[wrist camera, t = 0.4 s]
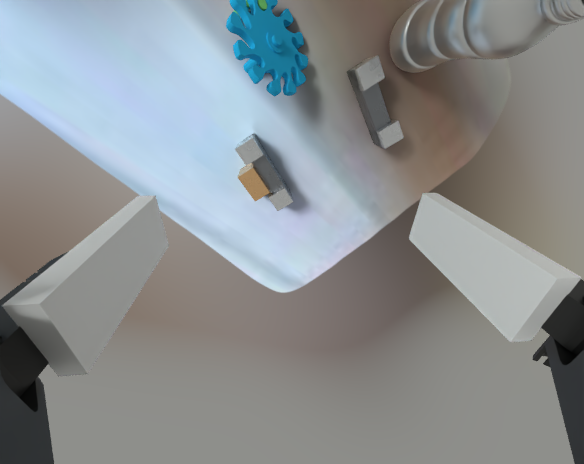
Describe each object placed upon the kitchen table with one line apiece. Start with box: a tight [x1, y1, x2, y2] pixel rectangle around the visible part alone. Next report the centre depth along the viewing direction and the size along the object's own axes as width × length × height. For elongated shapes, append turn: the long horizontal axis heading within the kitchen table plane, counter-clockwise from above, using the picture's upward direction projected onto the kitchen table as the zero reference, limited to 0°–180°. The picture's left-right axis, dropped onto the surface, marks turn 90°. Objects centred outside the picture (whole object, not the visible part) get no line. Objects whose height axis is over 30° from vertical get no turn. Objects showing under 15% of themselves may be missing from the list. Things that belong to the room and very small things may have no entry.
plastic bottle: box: [389, 0, 584, 73], centre depth 21 cm, size 6×7×20 cm
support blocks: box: [235, 55, 404, 211], centre depth 32 cm, size 10×21×4 cm, turn 120°
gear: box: [226, 0, 308, 96], centre depth 26 cm, size 11×6×10 cm
